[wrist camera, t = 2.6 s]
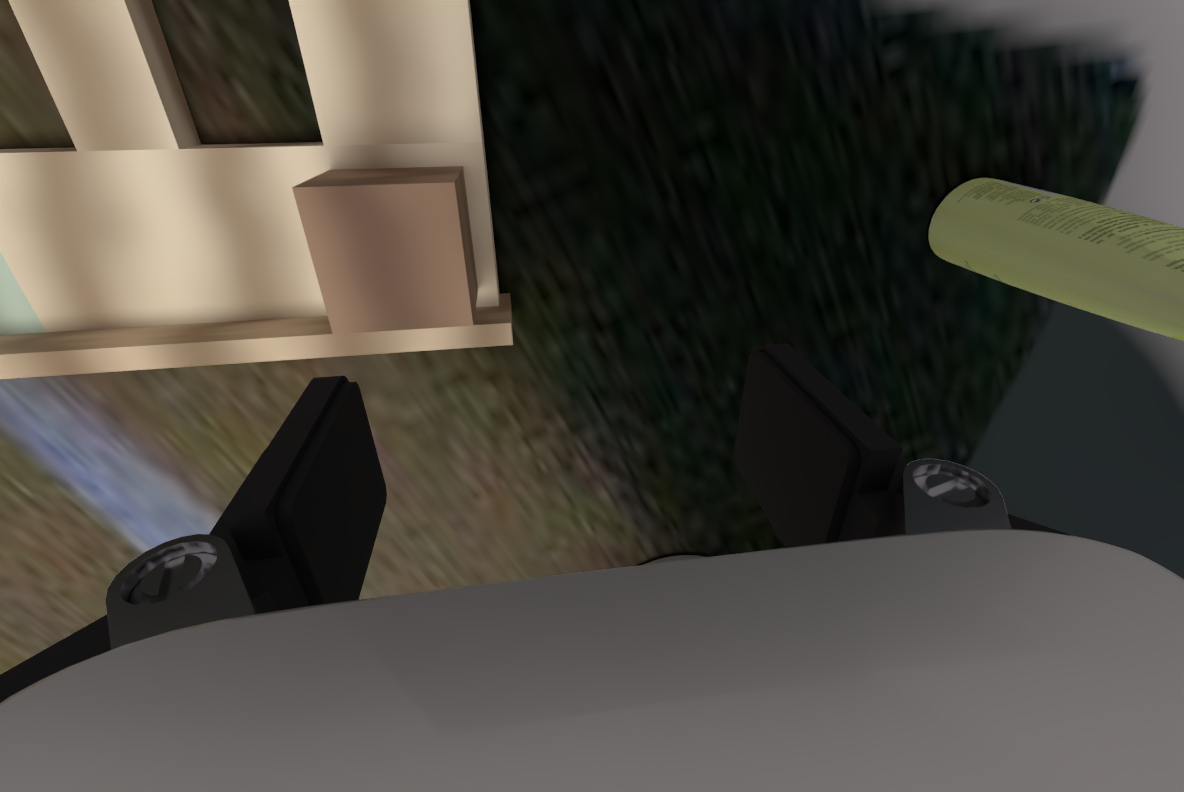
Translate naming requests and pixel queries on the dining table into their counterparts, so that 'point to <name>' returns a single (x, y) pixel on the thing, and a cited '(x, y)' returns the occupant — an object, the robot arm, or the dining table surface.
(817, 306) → the dining table surface
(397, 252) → the walnut block
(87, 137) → the trap tray
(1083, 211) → the tube
